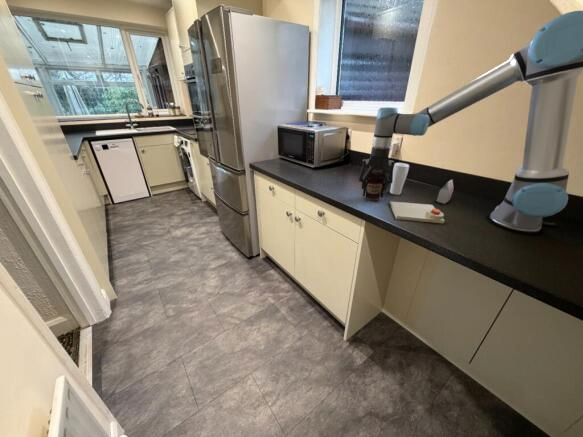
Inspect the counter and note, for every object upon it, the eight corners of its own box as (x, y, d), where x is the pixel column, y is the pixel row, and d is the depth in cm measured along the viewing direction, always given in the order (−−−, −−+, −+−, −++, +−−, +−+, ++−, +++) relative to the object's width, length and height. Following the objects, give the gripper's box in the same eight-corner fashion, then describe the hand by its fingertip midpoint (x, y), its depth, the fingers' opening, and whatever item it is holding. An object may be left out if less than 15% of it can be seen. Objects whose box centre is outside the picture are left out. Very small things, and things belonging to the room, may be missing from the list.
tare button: (437, 212, 95) (439, 208, 94) (440, 215, 92) (441, 212, 92) (429, 211, 95) (431, 208, 95) (432, 214, 93) (433, 211, 92)
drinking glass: (402, 196, 116) (410, 167, 109) (388, 194, 118) (394, 165, 111) (401, 191, 122) (408, 163, 114) (387, 190, 123) (394, 162, 116)
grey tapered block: (436, 201, 111) (442, 181, 106) (441, 197, 115) (448, 178, 110) (444, 203, 109) (451, 183, 104) (449, 200, 113) (456, 180, 108)
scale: (431, 207, 105) (433, 201, 104) (443, 223, 92) (446, 216, 91) (389, 204, 108) (391, 198, 107) (396, 219, 95) (397, 212, 94)
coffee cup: (382, 202, 107) (388, 175, 101) (363, 201, 109) (368, 174, 103) (380, 195, 115) (385, 169, 109) (362, 194, 116) (366, 168, 110)
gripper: (404, 146, 102) (393, 194, 113) (356, 144, 105) (350, 191, 116) (408, 149, 95) (396, 200, 106) (357, 147, 99) (351, 197, 110)
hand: (372, 196), depth 111 cm, fingers closed on coffee cup, 7 cm apart
